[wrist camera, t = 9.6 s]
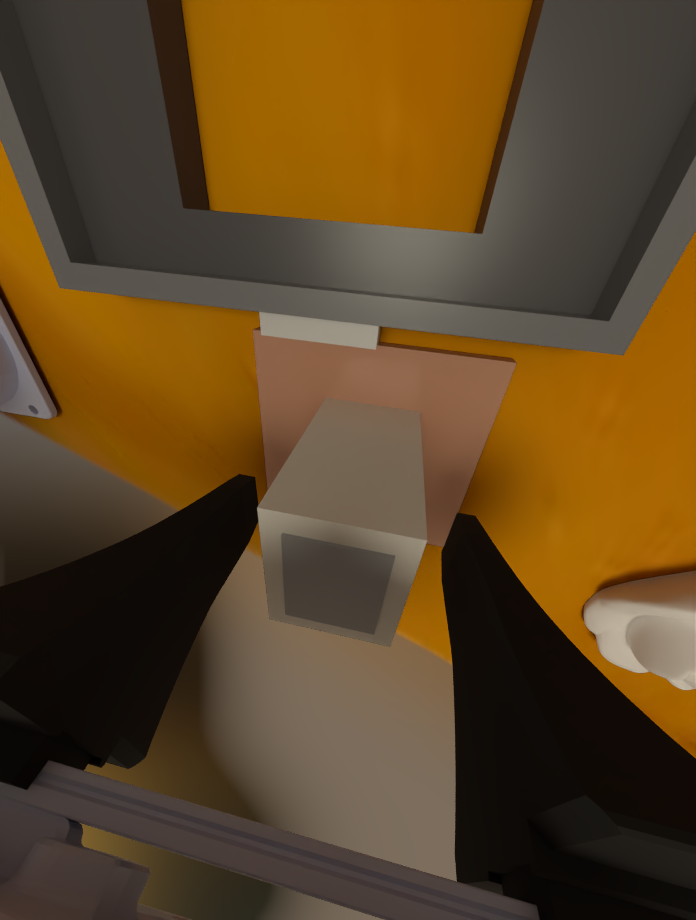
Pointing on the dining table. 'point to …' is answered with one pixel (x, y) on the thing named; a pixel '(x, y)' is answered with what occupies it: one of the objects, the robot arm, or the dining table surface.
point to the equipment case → (353, 244)
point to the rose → (648, 626)
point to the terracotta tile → (387, 405)
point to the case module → (346, 522)
